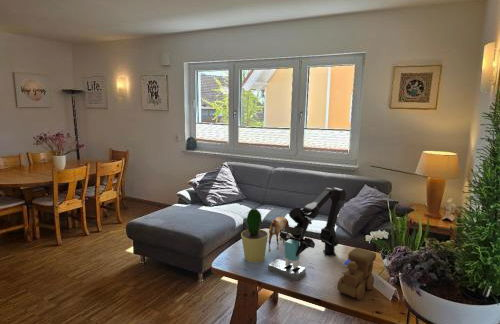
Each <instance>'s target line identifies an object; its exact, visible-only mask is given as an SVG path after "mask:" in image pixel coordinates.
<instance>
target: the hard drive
mask: <svg viewBox="0 0 500 324" xmlns="http://www.w3.org/2000/svg"><path fill="white" fill-rule="evenodd" d="M349 262H350V260H349V259H348V258H347V259H346V261H344V262H343V263H342V266H343V267H346V268H348V267H347V264H348V263H349Z"/></svg>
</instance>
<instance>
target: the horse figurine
mask: <svg viewBox="0 0 500 324" xmlns="http://www.w3.org/2000/svg"><path fill="white" fill-rule="evenodd" d="M270 224H271V225H270V226H269V229H268V252H269V253H271V252H272V249H271V242H272V238H273V236H274V235H275V238H276V239H275V240H276V250H279V249H280V248H279V240H280V241H281V240H282V243H283V244H285V240H283V239H282V238H281V237H280V236H279V234H280V232H282V231H283V232H286V231H285V230H287V231H289V227H290V224H289V221H288V219H287V218H286V217H284V216H283V217H282V216H277V217H276V218H274V219H273V220H272V221H271V223H270Z"/></svg>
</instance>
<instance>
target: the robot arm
mask: <svg viewBox="0 0 500 324" xmlns="http://www.w3.org/2000/svg"><path fill="white" fill-rule="evenodd" d="M346 197H347V192H346V190H345V189H344V188H338V187H333V188H332V187H326V188H324V190H323V192H322V193H320V195H318V196H317V198H315V200H314V201H313V202H311V203H308V204H306V205H305V206H304V207H303V208H300V207H299V206H296V207H295V208H293V209H291V210H290V211H289V213H288V215H289V218H290V219H291V220H293V221H294V223H295V224H296V225H294V227H292V226H289V231H288V230H287V231H288V232H287V231H285V232H283V231H282V230H281V232H280V233H279V235H278V237H279V238H280V237H281V238H282V239H281V240H282V241H283V240H285V242H286V241H287V240H289V239H291V240H294V241H298V242H299V248H298V251H297V253H296V256H298V255H299V256H300V254H302V253H303V252H304V251H305V250H306V249H309V248H311V249H315V245H316V243H315V242H314V240H313V239H312V238H310V237H305V235H307V230H308V227H309V225H312V224H313V223H312V221H311V219H313V220H314V219H316V217H317V216H318V214H319V213H320V209H321V208H322V206H323V205H324V204H326V203H327V202H328V201H329V199H330V201H331V204H330V208H329V213H328V217H327V221H326V224H325V226H324V227H323V228H321V231H320V234H319V235H320V236H319V238H320V241H321V243H322V244H324V249H323V251H322V252H323V254H324V256H329V257H330V256H333V257H335V256H337V253H336V251H335V250H336V249H335V247H337V246H338V245H339V243H340V240H338V239H337V238H336V236H337V232H336V229H335V227H336V225H337V224H336V223H337V219H338V215H339V212H340V207H341V204H343V202H344V201H345V200H346ZM285 242H284V243H285Z"/></svg>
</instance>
